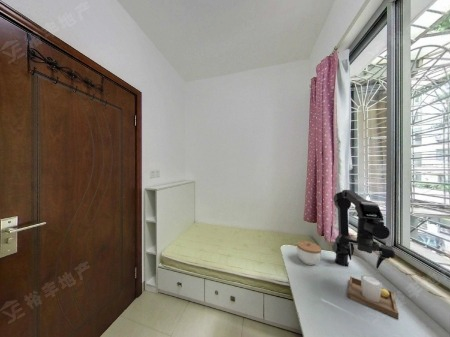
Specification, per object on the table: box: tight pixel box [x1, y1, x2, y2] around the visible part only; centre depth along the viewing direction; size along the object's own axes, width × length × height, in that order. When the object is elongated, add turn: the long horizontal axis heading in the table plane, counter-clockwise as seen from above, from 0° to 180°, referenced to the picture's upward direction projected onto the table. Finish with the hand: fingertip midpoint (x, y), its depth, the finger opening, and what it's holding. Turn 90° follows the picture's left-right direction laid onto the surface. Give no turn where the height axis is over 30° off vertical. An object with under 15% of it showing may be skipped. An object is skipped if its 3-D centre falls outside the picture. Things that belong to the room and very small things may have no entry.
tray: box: [347, 276, 400, 320], centre depth 70 cm, size 15×15×2 cm
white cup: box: [360, 274, 383, 302], centre depth 70 cm, size 7×7×7 cm
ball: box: [381, 288, 389, 297], centre depth 71 cm, size 3×3×3 cm
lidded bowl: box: [296, 240, 322, 266], centre depth 97 cm, size 13×13×11 cm
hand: (363, 263), depth 76 cm, fingers open, 9 cm apart
